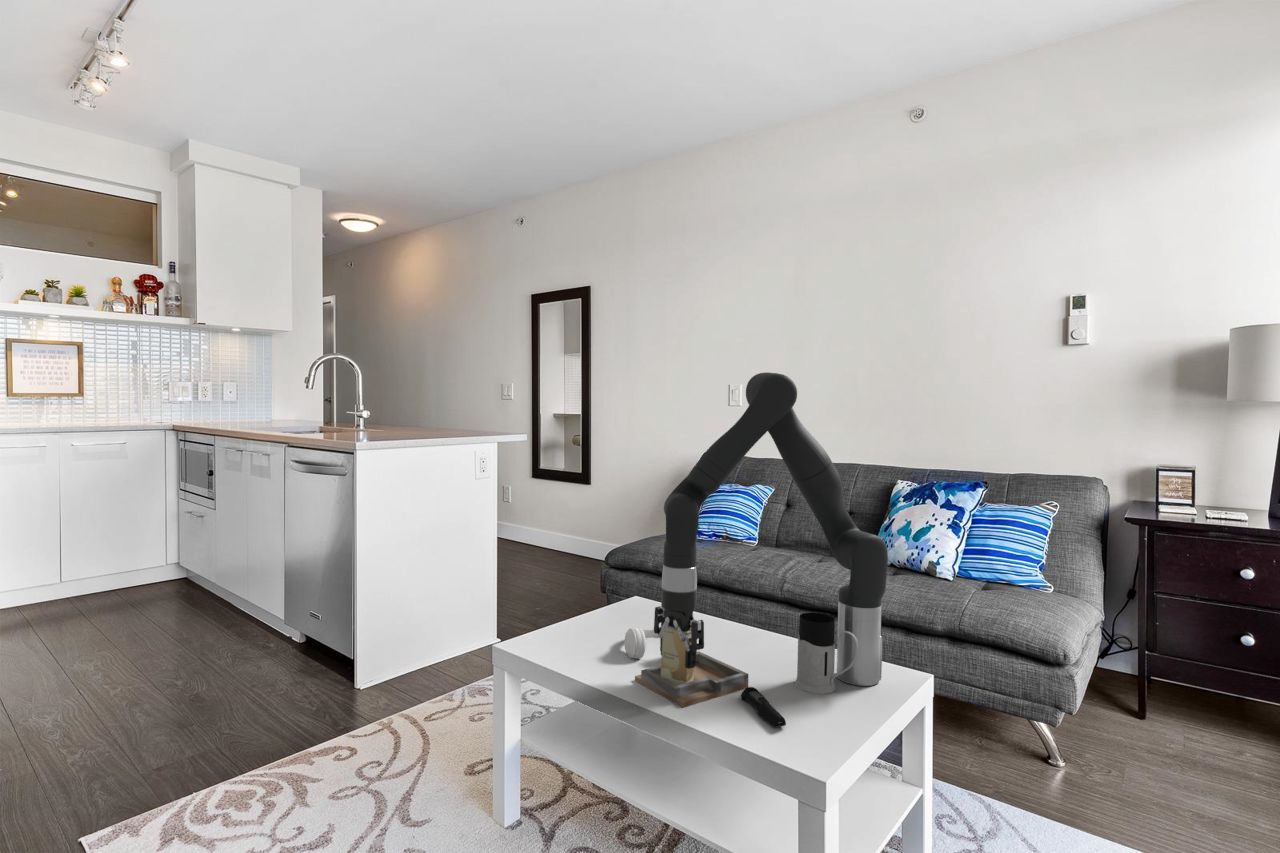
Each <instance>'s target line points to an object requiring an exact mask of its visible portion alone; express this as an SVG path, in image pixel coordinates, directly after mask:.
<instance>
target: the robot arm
mask: <svg viewBox="0 0 1280 853" xmlns="http://www.w3.org/2000/svg"><path fill="white" fill-rule="evenodd" d="M745 397H746V401H747V404H748V407H747V409H745V411H744V413H742V415H741V417H740V418H739V419H738V420H737V421H736V422H735V423H734V424H733V425H732V426H731V427H730V428H729V429H728V430H727V431H726V432H725V433H723V434H722V435H721V436H720V437H719V438H718V439H717V440H715V441H714V443H712V444H711V445H710V446H709V447H708V448H707V450H706V451H705V452H704V454H702V456H701V457H700V458H699V460H697V462H696V463H695V465H694V466H693V467H692V469H691V470H690V472H689V473H688V474H687V476H686V477H685V478H683V479H682V481H680V483H679V484H678V485H677V486H676V487H674V489H673V490H672V491H671V493H670V494H669V495H668V496H667V498H666V499H665V502H664V504H663V511H664V514H665V541H664V545H663V560H662V561H663V565H662V575H661V598H660V599H661V601H660V602H661V605H660V606H655V608H654V621H653V630H654V633H655V634H658V635H659V637H658V638H659V639H660V640H659V642H660V645H659V649H660V650H659V651H660V656H661V657H662V638H663V627H665V626H671V627H674V628H676V629H677V632H678V634H679V637H680V640H681V641H683V642H684V645H685V648H686V656H685V667H686V668H688V669H690V668H694V667H695V665H696V652H698V651H699V650H703V649H705V623H704V620H703V619H698V620H696V619H694V611H695V610H696V608H697V596H698V595H697V593H698V591H697V589H698V585H697V584H698V575H697V574H698V573H697V538H698V530H699V521H700V520H699V517H700V516H699V513H700V512H699V511H700V510H699V509H700V507H702V505H703V504H704V503H705V501H706V500H707V499H708V498H709V497H710V496H711V495H713V494H715V493H716V492H717V491H718V490H719V489H720V487H721V486H722V485H723V483H724V482H725V481H726V480H727V478H728V477H729V476H730V475H731V473H732V472H733V471H734V469H735V468H736V467H737V466H738V465H739V463H740V462H741V461H742V459H743V458H744V457H745V456H746V455H747V454H748V452H749V451H750V450H751V449H752V448H753V447H754V446H756V443H758V441H759V440H760V439H761V438H763V436H764V435H766V433H769V435H770V437H771V438H772V440H773V442H774V444H775V446H776V449H777V450H778V452H779V455H780V456H781V458H782V461H783V462H784V464H785V466H786V468H787V471H788V472H789V474H790V476H791V478H792V479H793V482H794V483H795V485H796V486H797V488H798V490H799V492H800V494H801V495H802V496H803V498H804V500H805V501H806V504H808V507H809V509H810V510H811V512H812V513H813V515H814V517H815V518H816V520H817V522H818V523H819V525H820V527H821V529H822V532H823V534H824V536H825V540H826V541H827V544H828V545H829V546H828V547H829V548H830V550H831V553H832V555H833V557H834V559H835V560H836V562H837V563H838V564H839V565H841V567H843V568H845V569H847V570H849V571H850V574H849V575H850V576H849V583H848V584H847V585H844V586H841V587H840V588H839V590H838V604H837V607H838V608H837V609H838V610H837V638H838V637H839V635H840V634H841V633H842V632H845V631H848V632H851V633H852V634H854V636H855V637H856V638H857V641H858V653H857V657H856V659H855V661H854V663H853V665H852V667H851V668H849V669H848V670H847V671H845V672H844V673H842V674H840V675H838V676H837V677H836V678H838V680H841V681H842V682H844V683H846V684H851V685H854V686H862V687H868V686H869V687H870V686H875V685H878V684H879V683H880V679H882V672H883V671H882V669H883V667H882V666H883V665H882V664H883V636H881V632H882V629H881V628H882V600H883V597H884V594H885V592H886V587H887V578H888V564H889V553H888V548H887V545H886V542H885V540H883V539H882V537H880V536H878V535H876V534H873V533H869V532H865V531H862V530H861V529H859V528H858V526H857V525H856V524H855V522H854V521H853V519H852V517H851V516H850V514H849V513H848V511H847V509H846V508H847V507H846V506H845V503H844V492H843V491H844V490H843V489H844V488H843V483H842V479H841V476H840V474H839V472H838V470H837V468H836V466H835V464H834V463H833V461H832V459H831V457H830V455H829V454H828V453H827V451H826V450H825V449H824V447H823V446H822V445H821V443H819V441H818V440H817V439H816V438H815V437H814V436H813V435H812V434H811V432H809V430H808V429H807V428H806V427H805V426H804V424H803V423H802V422H801V420H800V419H799V417H798V416H797V414H796V412H795V410H794V408H793V407H794V405H795V403H796V402H797V398H798V389H797V385H796V383H795V381H794V380H793V379H792V378H790V377H789V376H787V375H785V374H783V373H778V372H768V371H767V372H760V373H757V374H755V375H753V376H752V377H751V378H750V379H749V380H748V382H747V384H746V386H745ZM689 630H691V634H690V635H689V636H688V635H685V634H684V632H685V631H689ZM688 639H690V640H691V645H690V643H689V641H688ZM697 639H698V643H697ZM836 643H837V645H838V639H837V642H836ZM854 654H855V641H854V638H853V637H852V636H851V635H849V634H847V633H845V634H843V635H842V637H841V641H840V647H839V648H837V649H836V674H838V673H840V672H841V671H843V670H844V669H846V668H847V667H848V666H849V665H850V663H851V662H852V660H853V658H854Z"/></svg>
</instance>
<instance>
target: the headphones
mask: <svg viewBox="0 0 1280 853" xmlns="http://www.w3.org/2000/svg"><path fill="white" fill-rule="evenodd" d="M624 634H625V635H624V651H625V653H626V656H627V657H628V658H630V659H639V660H641V659H642V658H643V657H644V655H645V653H646V649H647V648H646V646H647V642H646V639H647V638H659V635H658V634H655V633H654V629H650V628H648V629H642V628H641V627H632V628H631V627H630V628H629V629H628V630H627V631H626V632H625V633H624ZM697 643H699V639H697Z"/></svg>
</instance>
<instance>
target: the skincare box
mask: <svg viewBox="0 0 1280 853" xmlns="http://www.w3.org/2000/svg"><path fill="white" fill-rule="evenodd" d="M684 634H685V635H688V636H689V635H690V634H691V630H689V631H685V632H684ZM688 641H689V643H690V645H691V640H690V639H688ZM685 656H686V648H685V645H684V642H683V641H681V640H680V637H679V634H678V632H677V629H676V628H674V627H671V626H665V627H663V638H662V656H661V661H660V665H661V678H663V679H665V680H667V681H669V682H671V683H672V684H674V685H676V686H677V685H681V684H684V683H688V682H692V681H693V679H694V668H690V669H688V668H686V667H685Z"/></svg>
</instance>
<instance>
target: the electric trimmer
mask: <svg viewBox="0 0 1280 853" xmlns="http://www.w3.org/2000/svg"><path fill="white" fill-rule="evenodd" d="M740 698H741V701H746V702H748V703H749V704H750V705H751V706H752V707H753V708H754V709H755V710H756V714H757V715H758V716H759V718H761V719H762V720H764V721H765V722H767V723H769V725H771V726H773V727H774V728H776V727H777V728H778V727H785V726H786V725H787V723H786V719H785V717H783V715H782V714H781V713H780V712H778V711H777V709H776V708H775V707H774V706H773V705H772V704H771V703H770V701H768V699H767V698H766V697H765V696H764V695H763V694H762V693H761V692H760V691H759V690H758V689H757V688H755V687H754V686H748V688H745V689H743V690H742V692H741V694H740Z"/></svg>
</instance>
